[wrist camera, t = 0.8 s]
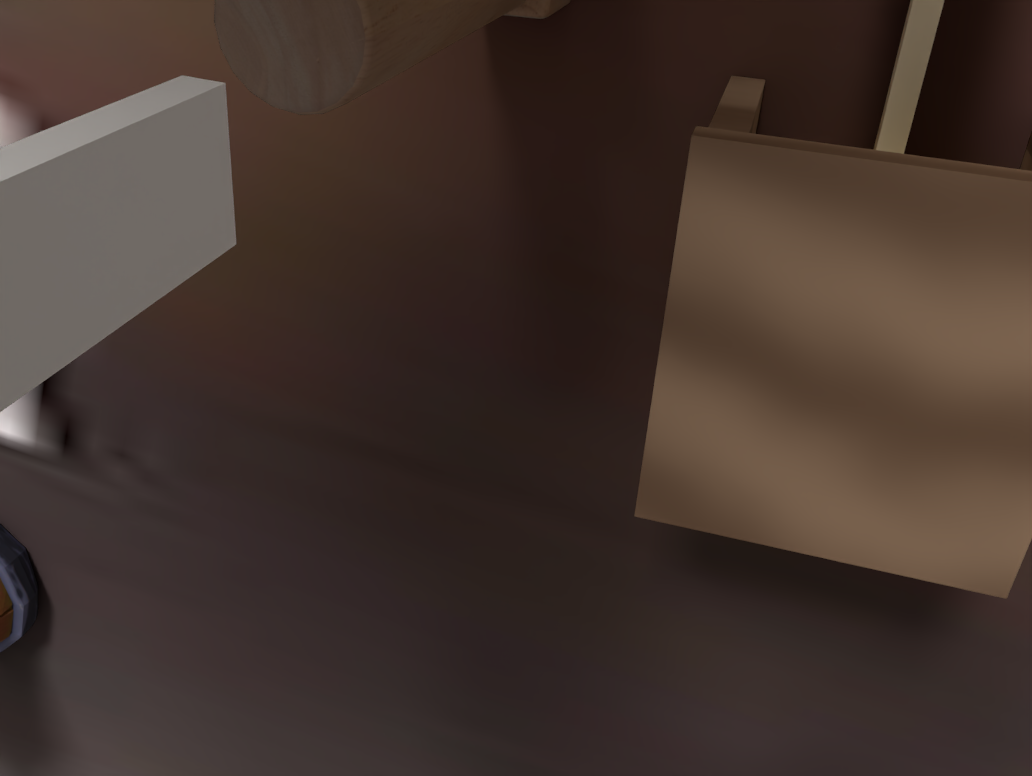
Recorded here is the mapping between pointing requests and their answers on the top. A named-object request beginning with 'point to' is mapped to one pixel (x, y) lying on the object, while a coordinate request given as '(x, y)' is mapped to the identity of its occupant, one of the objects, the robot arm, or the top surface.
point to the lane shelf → (847, 355)
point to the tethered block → (908, 74)
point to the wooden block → (345, 42)
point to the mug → (15, 590)
